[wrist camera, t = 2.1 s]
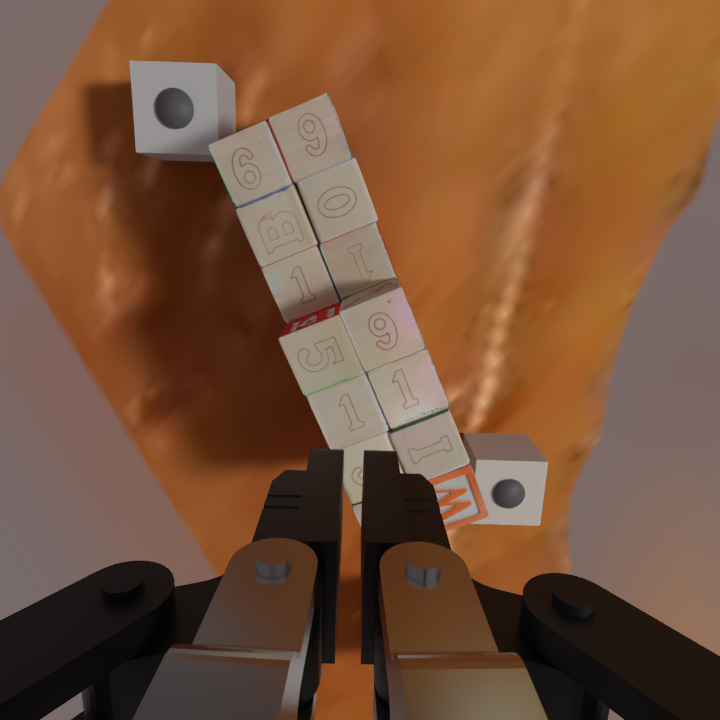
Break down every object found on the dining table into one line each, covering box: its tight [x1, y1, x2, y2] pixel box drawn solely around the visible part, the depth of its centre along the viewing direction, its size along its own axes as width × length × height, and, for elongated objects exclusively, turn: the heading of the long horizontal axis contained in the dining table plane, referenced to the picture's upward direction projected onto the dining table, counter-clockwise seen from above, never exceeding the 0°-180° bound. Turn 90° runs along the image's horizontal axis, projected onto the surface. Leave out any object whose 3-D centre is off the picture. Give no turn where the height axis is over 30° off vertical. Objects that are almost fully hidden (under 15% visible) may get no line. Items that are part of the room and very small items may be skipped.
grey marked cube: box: [130, 61, 236, 162], centre depth 31 cm, size 4×4×5 cm
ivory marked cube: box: [463, 433, 548, 526], centre depth 37 cm, size 4×4×5 cm
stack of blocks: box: [208, 93, 490, 532], centre depth 30 cm, size 21×6×12 cm, turn 21°
